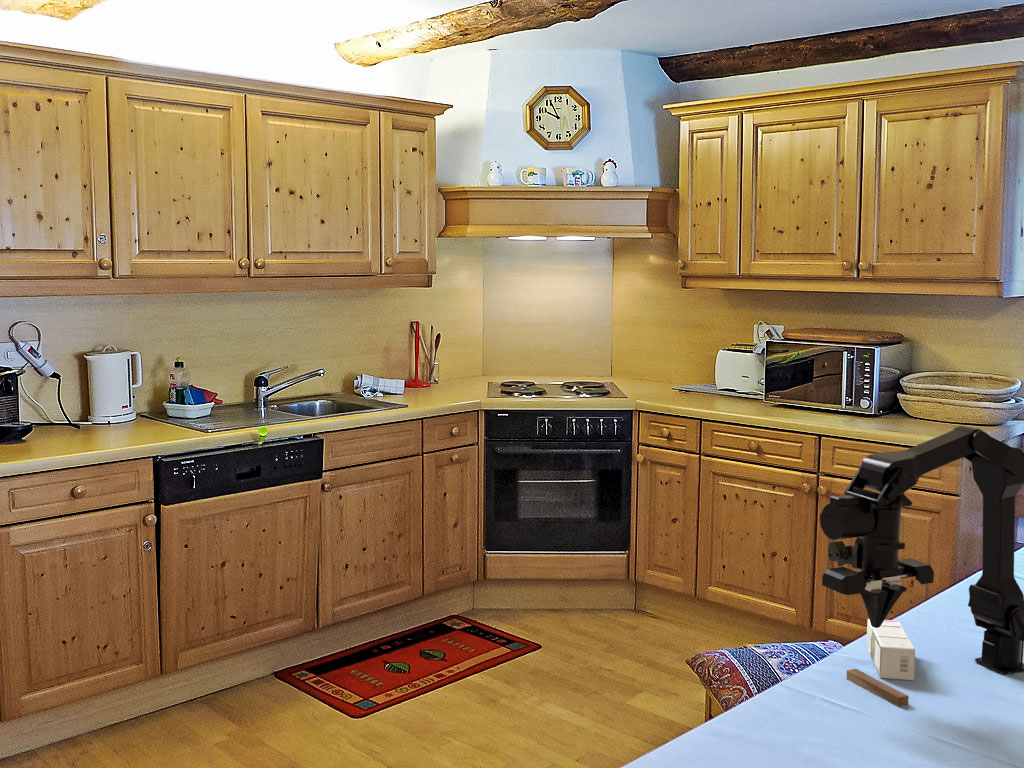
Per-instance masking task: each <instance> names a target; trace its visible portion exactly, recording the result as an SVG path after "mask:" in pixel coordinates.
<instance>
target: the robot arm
mask: <svg viewBox="0 0 1024 768" xmlns="http://www.w3.org/2000/svg"><path fill="white" fill-rule="evenodd" d="M963 458H964V459H965V460H966V461H967V462H969V463H970V464H971V468H972V476H973V481H974V482H975V484H976V485H977V487H978V489H979V491H980V493H981V494H982V554H981V555H982V557H981V558H982V559H981V561H982V564H981V566H982V567H981V568H982V570H981V571H982V573H981V576H980V577H979V579H978V580H977V582H976V583H975V584H970V585H969V587H968V593H969V594H968V595H969V600H968V604H967V606H968V607H969V608H970V611H971V614H972V615H973V619H974V624H975V627H980V628H983V629H985V630H984V631H983V640H982V642H981V643H982V644H981V645H982V647H981V657H976V658H974V662H976V663H978V664H980V665H982V666H984V667H987V668H989V669H991V670H994V671H996V672H997V673H1000V674H1003V675H1009V674H1011V673H1013V674H1014V673H1018V672H1022V671H1024V662H1023V661H1024V660H1023V659H1024V593H1023V591H1022V589H1021V587H1020V585H1019V584H1018V582H1017V580H1016V579H1015V523H1016V522H1015V521H1016V520H1015V518H1016V516H1015V514H1016V512H1015V511H1016V510H1015V507H1016V506H1015V505H1016V504H1015V503H1016V496H1017V494H1018V493H1019V492H1020V490H1021V489H1022V487H1023V486H1024V451H1023V450H1022V449H1021V448H1019V447H1014V446H1010V445H1009V444H1007V443H1004V442H1003V441H1000V440H998V439H996V438H995V437H992V436H991V435H990V434H988V433H987V432H985V431H984V430H982V429H980V428H977V427H976V428H975V427H971V426H965V425H958V426H955V427H954V428H953V429H952V430H951V431H948V432H945V433H943V434H940V435H938V436H936V437H933V438H931V439H929V440H926V441H924V442H922V443H920V444H917V445H914V446H912V447H909V448H908V449H907V448H906V449H904V450H899V451H895V450H894V451H883V452H876V453H873V454H869V455H867V456H865V457H864V458H863V459H862V460H861V462H862V463H861V464H860V466H859V468H858V469H857V471H856V473H855V474H854V475H853V477H852V479H851V480H850V482H849V484H848V486H846V488H845V490H844V492H843V494H844V495H841V496H840V495H831V496H830V497H829V503H827V504H826V505H825V506H824V507H823V508H822V510H821V512H820V514H819V524H820V527H821V531H822V532H823V534H824V535H825V537H827V538H828V539H830V540H831V542H828V548H827V555H828V560H829V561H830V562H836V565H837V567H831V568H827V569H825V570H824V571H823V572H822V576H821V578H822V579H821V586H823V587H826V588H828V589H830V590H832V591H835V592H837V593H839V594H841V595H845V596H851V595H858V594H859V595H860V596H861V598H862V600H863V603H864V606H865V610H866V613H867V615H868V616H867V617H868V619H870V623H871V626H872V627H875V628H878V627H880V626H881V624H882V623H883V621H884V620H886V618H887V617H888V614H889V613H890V612H891V610H892V609H893V607H894V606H895V604H896V602H897V601H898V600H899V599H900V597H901V596H902V594H903V593H905V592H907V591H908V587H905V586H903V585H902V584H901V583H902V581H901V579H907V578H915V581H916V582H917V583H918V584H919V585H927V584H934V580H935V579H934V578H935V571H934V570H933V567H932V566H931V564H929V563H925V562H923V561H919V560H918V559H915V558H911V557H906V558H900V559H899V556H900V555H899V551H900V550H904V549H905V548H906V542H904V541H901V540H900V539H901V538H900V536H901V519H902V507H911V506H912V505H913V501H912V500H910V499H909V498H908V497H907V496H906V494H905V493H906V492H908V491H909V490H911V489H912V488H913V487H914V486H916V485H917V484H918V481H919V479H920V478H921V477H922V476H923V475H925V474H928V473H930V472H932V471H936V470H938V469H940V468H942V467H944V466H947V465H949V464H951V463H953V462H955V461H958V460H961V459H963ZM854 538H855V539H854ZM844 539H845V540H846V539H854V544H852V545H845V543H844V541H843V540H844ZM834 540H835V541H834ZM836 540H837V541H836ZM838 540H839V541H838ZM844 565H851V568H853V569H857V570H858V569H859V570H860V571H855V570H852V569H850V568H848V567H844Z"/></svg>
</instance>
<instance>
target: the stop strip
mask: <svg viewBox="0 0 1024 768" xmlns="http://www.w3.org/2000/svg"><path fill="white" fill-rule="evenodd" d="M845 677H846V680H848V681H850V682H852V683H853V684H855V685H857V686H859V687H861V688H863V689H865V690H866V691H868V692H870V693H872V694H874V695H875V696H878V697H879V698H881V699H884V700H885V701H887V702H888V703H890V704H892V705H894V706H896V707H898V708H900V707H903V706H909V700H910V699H909V696H910V695H909V694H906V693H904V692H902V691H900V690H898V689H896V688H895V687H893V686H891V685H888V684H887V683H885V682H884V681H883V682H882V681H881V680H879V679H877V678H875V677H873V676H871V675H870V674H867V673H866V672H864V671H862V670H860V669H858V668H853V669H847V670H846V676H845Z"/></svg>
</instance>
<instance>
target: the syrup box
mask: <svg viewBox="0 0 1024 768" xmlns="http://www.w3.org/2000/svg"><path fill="white" fill-rule="evenodd" d="M866 626H867V627H866V649H867V651H868V654H869V656H870V658H871V660H872V663H873V665H874V667H875V669H876V670H875V671H876V672H877V674H878V676H879V678H880V679H893V680H905V681H906V680H907V681H914V680H915V674H916V672H915V671H916V649H915V647H914V645H913V643H912V642H911V640H910V638H909V636H908V634H907V633H906V630H904V629H905V628H904V627H903V625H902V624H901V622H900V620H890V619H889V620H888V619H884V621H883V623H882V624H881V626H880V627H878V628H875V627H872V626H871V623H870V619H869V618H867V625H866Z"/></svg>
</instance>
